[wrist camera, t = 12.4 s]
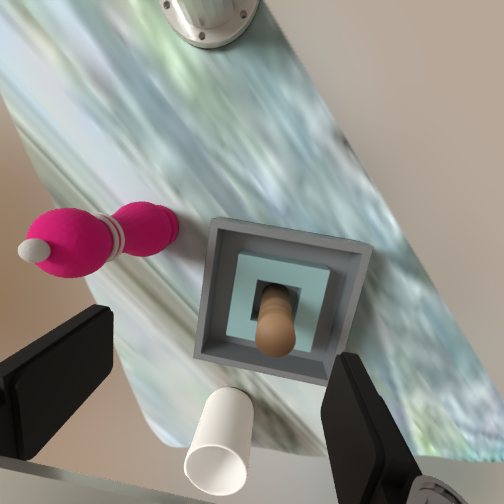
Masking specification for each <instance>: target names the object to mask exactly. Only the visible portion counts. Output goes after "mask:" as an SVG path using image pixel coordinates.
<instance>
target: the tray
mask: <svg viewBox="0 0 504 504" xmlns="http://www.w3.org/2000/svg"><path fill="white" fill-rule="evenodd" d="M372 250H373V247H371V246H369V245H367V244H365V243H362V242H360V241H356V240H350V239H345V238H339V237H333V236H328V235H322V234H316V233H310V232H305V231H299V230H293V229H288V228H282V227H276V226H271V225H265V224H259V223H254V222H248V221H242V220H236V219H231V218H225V217H217V218H212V219H211V223H210V231H209V239H208V246H207V254H206V262H205V270H204V278H203V285H202V293H201V301H200V309H199V317H198V324H197V332H196V340H195V348H194V355H193V358H195V359H199V360H204V361H209V362H213V363H218V364H223V365H227V366H232V367H237V368H241V369H246V370H251V371H255V372H260V373H264V374H269V375H274V376H278V377H283V378H288V379H292V380H297V381H302V382H306V383H311V384H316V385H320V386H325V387H327V385H328V381H329V378H330V375H331V371H332V368H333V364H334V361H335V357H336V355H337V354H338V355H340V354H341V353H342V352H344V351H345V347H346V343H347V340H348V336H349V333H350V329H351V325H352V322H353V318H354V315H355V311H356V307H357V304H358V300H359V297H360V293H361V290H362V286H363V282H364V279H365V275H366V272H367V268H368V264H369V261H370V257H371V254H372ZM271 283H278V284H282V285H284V286H285V287H286V288H287V289H288V291H289V296H290V302H291V309H292V315H293V322H294V329H295V335H296V343H295V346H294V348H293V350H292V351H291V352H290V353H289V354H287V355H285V356H283V357H270V356H267V355H265V354H264V353H262V352H261V351H260V350H259V348H258V347H257V345H256V341H255V334H256V328H257V322H258V316H259V310H260V304H261V298H262V293H263V290H264V288H265V287H266V286H267V285H269V284H271Z"/></svg>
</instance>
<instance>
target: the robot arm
mask: <svg viewBox="0 0 504 504" xmlns="http://www.w3.org/2000/svg"><path fill="white" fill-rule="evenodd" d="M159 3H160V6H161V9H162V12H163V14H164V15H165V17H166V19H167V21H168V23H169V24H170V26H171V27H172V29H173V30H174V31H175V32H176V33H177V35H178V36H179V37H180V38H182V39H183V40H185V41H186V42H187V43H189V44H192V45H194V46H196V47H201V48H217V47H221V46H224V45H226V44H228V43H230V42H232V41H234V40H235V39H236V38H237V37H239V36H240V35H241V34H242V33H243V32H244V31H245V29H246V28H247V27H248V26H249V24H250V22H251V21H252V19H253V17H254V15H255V13H256V10H257V8H258V4H259V0H159ZM243 18H244V19H243ZM203 39H204V40H203ZM113 321H114V314H113V312H112V311H111V309H110V308H109V307H107V306H102V305H96V304H94V305H92V306H90V307H88V308H87V309H85V310H84V311H82V312H80V313H79V314H77V315H76V316H74V317H73V318H71V319H69V320H68V321H66V322H65V323H63V324H61V325H60V326H58V327H56V328H55V329H53V330H52V331H50V332H49V333H47V334H45V335H44V336H42V337H41V338H39V339H37V340H36V341H34V342H32V343H31V344H29V345H28V346H26V347H24V348H23V349H21V350H20V351H18V352H16V353H15V354H13V355H12V356H10V357H8V358H7V359H5V360H4V361H2V362H0V504H214V503H210V502H206V501H202V500H197V499H193V498H188V497H184V496H180V495H175V494H171V493H166V492H162V491H158V490H153V489H149V488H145V487H140V486H136V485H131V484H126V483H122V482H118V481H113V480H109V479H105V478H100V477H96V476H91V475H86V474H82V473H77V472H73V471H68V470H64V469H59V468H55V467H50V466H46V465H41V464H36V463H32V462H27V461H26V460H30V459H32V458H33V457H34V456H36V455H37V453H38V452H39V451H40V450H41V449H42V448H43V447H44V446H45V445H46V443H47V442H48V441H49V440H50V439H51V438H52V437H53V436H54V435H55V433H56V432H57V431H58V430H59V429H60V428H61V427H62V426H63V425H64V424H65V422H66V421H67V420H68V419H69V418H70V417H71V416H72V415H73V414H74V412H75V411H76V410H77V409H78V408H79V407H80V406H81V405H82V404H83V402H84V401H85V400H86V399H87V398H88V397H89V396H90V395H91V394H92V392H93V391H94V390H95V389H96V388H97V387H98V386H99V385H100V384H101V383H102V381H103V380H104V379H105V378H106V377H107V376H108V375H109V374H110V372H111V370H112V367H113ZM321 420H322V425H323V430H324V435H325V440H326V445H327V450H328V454H329V459H330V464H331V469H332V473H333V478H334V483H335V489H336V493H337V498H338V503H339V504H468V503H467V502H466V501H465V500H464V499H463V498H462V496H460V495H459V494H458V493H457V492H456V491H455V490H454V489H453V488H451V487H450V486H449V485H447V484H445V483H444V482H442V481H441V480H439V479H436V478H434V477H431V476H426V475H422V473H421V471H420V469H419V467H418V465H417V463H416V461H415V459H414V457H413V455H412V453H411V451H410V450H409V448H408V446H407V444H406V442H405V440H404V438H403V436H402V434H401V432H400V430H399V429H398V427H397V425H396V423H395V421H394V419H393V417H392V415H391V413H390V411H389V409H388V407H387V406H386V404H385V402H384V400H383V399H382V397H381V396H380V395H379V394H378V392H377V391H376V389H375V387H374V385H373V383H372V381H371V379H370V377H369V375H368V373H367V371H366V369H365V367H364V365H363V363H362V361H361V359H360V357H359V356H358V355H357V354H353V353H348V352H342V353H341V354H340V355H338V354H337V355H336V357H335V361H334V364H333V368H332V371H331V375H330V378H329V381H328V385H327V388H326V392H325V395H324V399H323V402H322V406H321Z"/></svg>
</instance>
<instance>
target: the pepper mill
mask: <svg viewBox="0 0 504 504" xmlns="http://www.w3.org/2000/svg"><path fill="white" fill-rule="evenodd" d="M178 231H179V225H178V221H177V218H176V216H175V215H174V213H173V212H172V211H171V210H170V209H168V208H166V207H164V206H161V205H154V204H152V203H149V202H133V203H129V204H127V205H125V206H123V207H121V208H120V209H119V210H118V211H117V212H116V213H115V214H113V215H111V216H109V215H107V214H105V213H100V212H95V213H89V212H86V211H83V210H80V209H76V208H61V209H55V210H52V211H48V212H47V213H45V214H43V215H41V216H39V217H38V218H37V219H36V220H35V221H34V222H33V224H32V225H31V226H30V229H29V231H28V234H27V239H26V240H25V241H24V242H22V243H21V244H20V246H19V248H18V253H19V255H20V257H21V258H22V259H24V260H25V261H28V262H32V263H35V264H36V265H37V266H38V267H40V268H41V269H42V270H44V271H45V272H47V273H49V274H51V275H54V276H57V277H63V278H77V277H82V276H86V275H89V274H91V273H93V272H95V271H97V270H98V269H99V268H101V267H102V266H103V265H104V263H106V262H109V261H112V260H114V259H116V258H117V257H118V256H119V255H120V254H121V253H127V254H130V255H133V256H140V257H146V256H151V255H154V254H157V253H159V252H160V251H162V250H163V249H164V248H165V247H166V246H167V245H170V244H171V243H172V242H173V241H174V240H175V239H176V237H177V235H178Z"/></svg>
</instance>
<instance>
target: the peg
mask: <svg viewBox="0 0 504 504" xmlns="http://www.w3.org/2000/svg"><path fill="white" fill-rule="evenodd" d="M255 341H256V345H257V347H258V348H259V350H260V351H261V352H262V353H264V354H265V355H267V356H270V357H283V356H285V355H287V354H289V353H290V352H291V351H292V350H293V348H294V346H295V343H296V335H295V329H294V322H293V315H292V309H291V302H290V296H289V291H288V289H287V288H286V287H285V286H284V285H282V284H278V283H271V284H269V285H267V286H266V287H265V288H264V290H263V293H262V298H261V304H260V310H259V316H258V322H257V328H256V334H255Z"/></svg>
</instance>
